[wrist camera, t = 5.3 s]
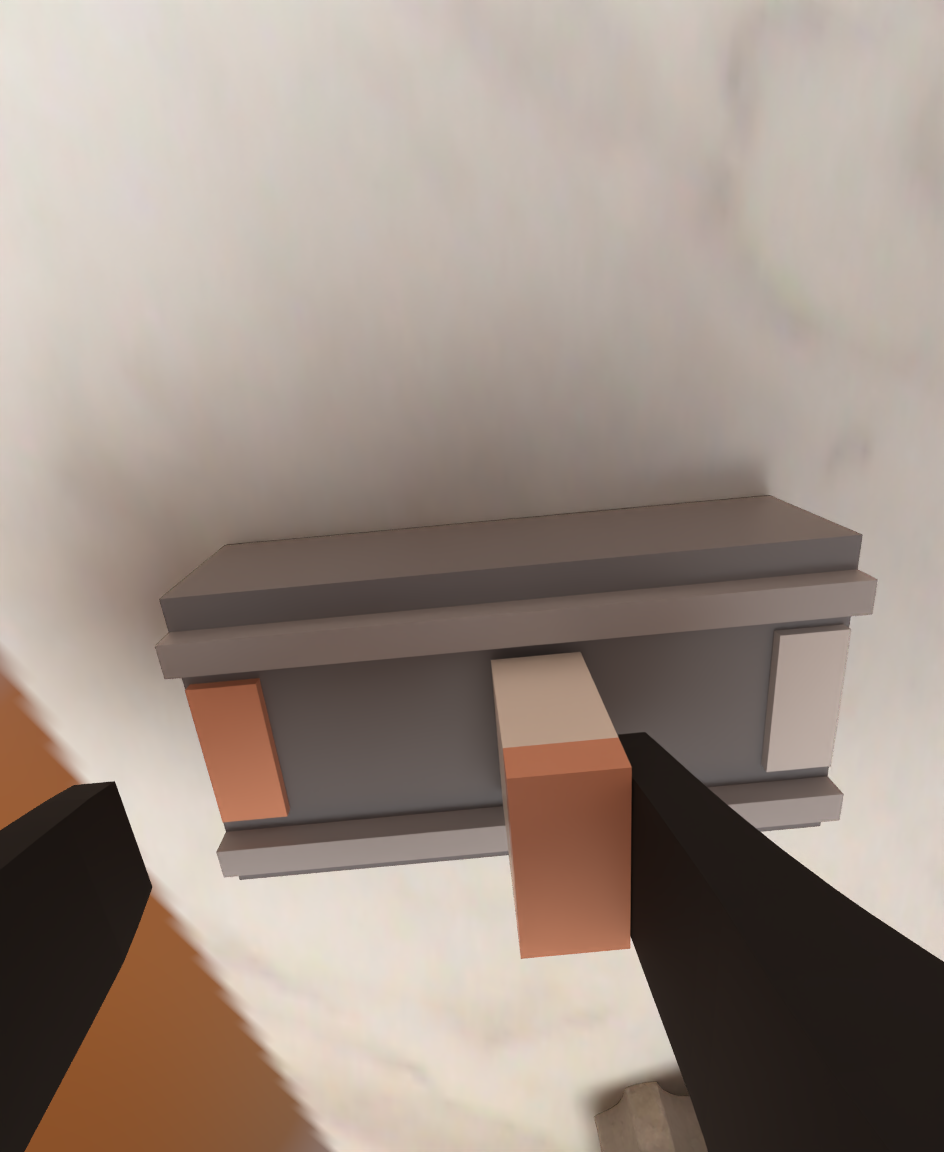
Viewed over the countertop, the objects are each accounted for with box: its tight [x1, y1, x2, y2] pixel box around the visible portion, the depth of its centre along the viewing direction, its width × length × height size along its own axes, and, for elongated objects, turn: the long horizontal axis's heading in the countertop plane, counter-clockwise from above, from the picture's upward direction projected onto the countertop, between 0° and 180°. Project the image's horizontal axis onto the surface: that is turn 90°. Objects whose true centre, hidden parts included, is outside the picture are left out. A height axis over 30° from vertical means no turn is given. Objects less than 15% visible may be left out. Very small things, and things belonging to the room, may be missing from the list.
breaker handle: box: [491, 652, 632, 959], centre depth 9 cm, size 2×3×3 cm, turn 5°
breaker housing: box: [155, 495, 878, 880], centre depth 12 cm, size 12×6×4 cm, turn 95°
